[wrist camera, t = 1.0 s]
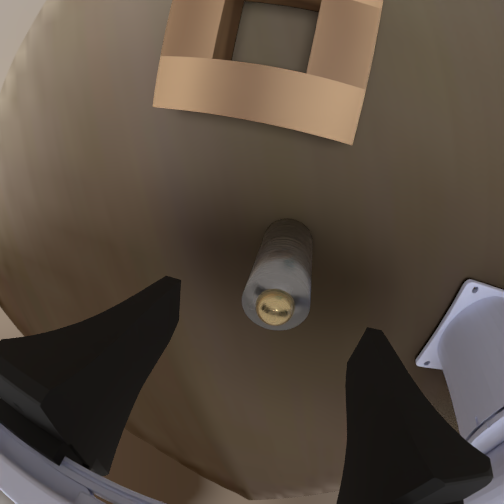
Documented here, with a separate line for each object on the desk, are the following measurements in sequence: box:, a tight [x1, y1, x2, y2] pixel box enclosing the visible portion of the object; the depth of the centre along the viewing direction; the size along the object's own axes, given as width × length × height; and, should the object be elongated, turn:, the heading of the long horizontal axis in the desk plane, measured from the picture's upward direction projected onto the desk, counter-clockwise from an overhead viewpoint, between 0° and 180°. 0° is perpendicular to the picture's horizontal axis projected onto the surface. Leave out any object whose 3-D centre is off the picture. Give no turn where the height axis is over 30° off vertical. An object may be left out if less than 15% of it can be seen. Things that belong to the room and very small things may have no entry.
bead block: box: [153, 0, 383, 145], centre depth 11 cm, size 9×9×3 cm
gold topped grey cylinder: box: [242, 219, 313, 330], centre depth 14 cm, size 3×3×7 cm
